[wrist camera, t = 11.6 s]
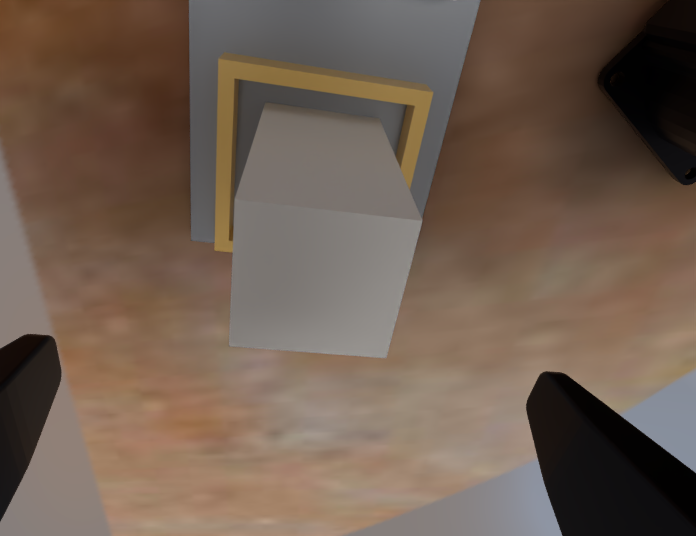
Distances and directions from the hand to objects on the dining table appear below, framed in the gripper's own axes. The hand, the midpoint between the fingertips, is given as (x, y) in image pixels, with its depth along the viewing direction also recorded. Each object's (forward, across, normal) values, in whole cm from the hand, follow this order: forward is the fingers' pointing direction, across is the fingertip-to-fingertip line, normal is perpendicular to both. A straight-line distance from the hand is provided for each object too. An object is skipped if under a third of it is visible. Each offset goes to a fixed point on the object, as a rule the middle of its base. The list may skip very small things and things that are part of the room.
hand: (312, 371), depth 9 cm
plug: (+11, 0, 0) cm, 11 cm away
